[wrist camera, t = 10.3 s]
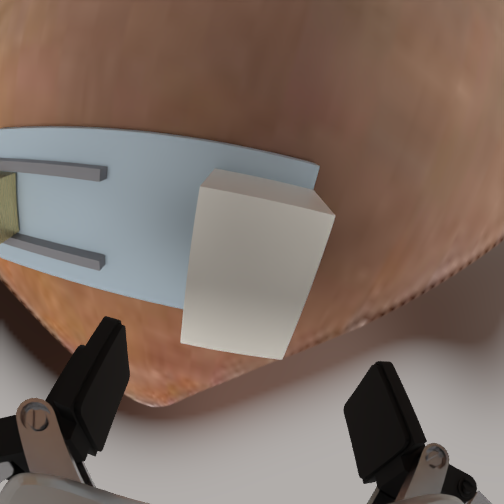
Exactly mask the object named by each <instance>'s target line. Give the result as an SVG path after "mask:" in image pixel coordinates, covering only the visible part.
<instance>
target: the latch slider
mask: <svg viewBox="0 0 504 504" xmlns="http://www.w3.org/2000/svg"><path fill="white" fill-rule="evenodd" d="M17 232H19V225H18V215H17V201H16V173H13V172H2V171H0V244H1V243H3V242H4V241H6V240H7V239H9V238H10V237H12V236H13V235H14V234H16V233H17Z"/></svg>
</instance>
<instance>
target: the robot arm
mask: <svg viewBox="0 0 504 504" xmlns="http://www.w3.org/2000/svg"><path fill="white" fill-rule="evenodd" d="M129 377H130V371H129V362H128V353H127V342H126V329H125V326H124V325H121V321H120V320H117V319H114V318H110V317H107V316H105V317H104V318H103V320H102V321H101V323H100V324H99V326H98V327H97V329H96V330H95V332H94V333H93V335H92V336H91V338H90V339H89V341H88V343H87V344H86V346H85V345H80V346H78V348H77V349H76V350H75V352H74V354H73V355H72V357H71V358H70V360H69V361H68V363H67V365H66V367H65V368H64V370H63V371H62V373H61V375H60V376H59V378H58V380H57V381H56V383H55V385H54V386H53V388H52V390H51V392H50V394H49V395H48V397H47V399H46V400H45V401H44V400H42V399H38V398H31V399H28V400H25V401H24V402H22V403H21V404H20V406H19V407H18V409H17V413H16V415H13V416H9V417H5V418H0V482H2V481H3V480H5V479H7V480H9V481H8V482H7V483H6V485H5V486H4V488H3V490H2V491H1V493H0V504H149V503H145V502H141V501H137V500H133V499H130V498H126V497H123V496H120V495H116V494H114V493H110V492H108V491H105V490H101V489H98V488H96V487H95V485H94V483H93V481H92V479H91V477H90V475H89V473H88V470H87V468H86V466H85V464H84V462H83V461H85V459H86V457H87V454H91V455H93V456H96V454H97V451H102V450H103V447H104V445H105V442H106V439H107V436H108V433H109V431H110V428H111V425H112V422H113V420H114V417H115V414H116V412H117V409H118V406H119V404H120V401H121V399H122V396H123V394H124V391H125V389H126V386H127V384H128V381H129ZM344 415H345V419H346V423H347V427H348V431H349V435H350V438H351V442H352V447H353V451H354V455H355V460H356V464H357V468H358V473H359V476H360V478H362V479H363V483H364V484H366V483H372V482H375V481H376V483H377V487H376V489H375V491H374V492H373V494H372V496H371V498H370V500H369V501H368V503H367V504H491V502H490V501H488V500H487V498H486V497H484V495H483V494H481V492H480V491H478V492H476V490H477V487H476V482H475V480H474V479H473V477H471V476H470V475H468V474H466V473H464V472H463V471H461V470H459V469H457V468H455V467H453V466H452V465H450V464H449V455H448V453H447V451H446V449H445V448H444V447H442V446H441V445H439V444H437V443H431V444H428V445H427V446H426V447H425V444H424V443H425V442H427V441H426V438H425V436H424V433H423V431H422V428H421V426H420V424H419V421H418V419H417V416H416V414H415V412H414V409H413V407H412V405H411V403H410V400H409V398H408V396H407V394H406V391H405V389H404V387H403V385H402V383H401V381H400V378H399V376H398V375H397V372H396V370H395V368H394V366H393V364H392V363H391V362H382V361H378V362H376V363H375V364H374V365H372V366H371V367H370V369H369V370H368V372H367V373H366V375H365V376H364V378H363V379H362V381H361V382H360V384H359V385H358V387H357V388H356V390H355V391H354V393H353V394H352V396H351V397H350V398H349V399H348V401H347V402H346V404H345V406H344Z"/></svg>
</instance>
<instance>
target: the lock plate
mask: <svg viewBox="0 0 504 504" xmlns="http://www.w3.org/2000/svg"><path fill="white" fill-rule="evenodd" d="M319 167H320V166H319V165H317V164H315V163H313V162H309V161H306V160H302V159H298V158H294V157H290V156H286V155H282V154H277V153H273V152H269V151H264V150H260V149H255V148H250V147H245V146H240V145H235V144H230V143H225V142H219V141H213V140H207V139H201V138H195V137H188V136H181V135H174V134H166V133H158V132H149V131H139V130H129V129H116V128H101V127H77V126H30V127H8V128H0V171H2V172H13V173H16V201H17V215H18V225H19V232H17V233H16V234H14V235H13V236H12V237H10V238H9V239H7V240H6V241H4V242H3V243H1V244H0V257H1V258H3V259H6V260H9V261H11V262H14V263H17V264H20V265H23V266H26V267H29V268H32V269H35V270H38V271H41V272H44V273H47V274H50V275H53V276H57V277H60V278H63V279H66V280H70V281H73V282H77V283H80V284H83V285H87V286H91V287H94V288H98V289H101V290H105V291H109V292H113V293H116V294H120V295H124V296H128V297H132V298H136V299H140V300H145V301H149V302H153V303H157V304H162V305H166V306H171V307H175V308H180V309H184V299H185V289H186V280H187V272H188V264H189V256H190V248H191V241H192V234H193V227H194V220H195V213H196V207H197V201H198V194H199V188H200V185H201V184H202V183H203V182H204V181H205V179H206V178H207V177H208V176H209V175H210V173H211V172H212V171H213V170H214V169H215V168H216V169H222V170H227V171H232V172H237V173H242V174H247V175H252V176H256V177H261V178H266V179H270V180H275V181H279V182H283V183H288V184H292V185H296V186H300V187H304V188H308V189H312V190H313V189H314V186H315V182H316V178H317V175H318V171H319Z"/></svg>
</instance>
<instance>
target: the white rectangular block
mask: <svg viewBox="0 0 504 504" xmlns="http://www.w3.org/2000/svg"><path fill="white" fill-rule="evenodd" d="M334 219H335V214H334V213H333V212H332V211H331V210H330V208H329V207H328V206H327V205H326V204H325V203H324V201H323V200H322V199H321V198H320V197H319V196H318V195H317V193H316V192H315V191H314V190H312V189H308V188H304V187H300V186H296V185H292V184H288V183H283V182H279V181H275V180H270V179H266V178H261V177H256V176H252V175H247V174H242V173H237V172H232V171H227V170H222V169H216V168H215V169H214V170H213V171H212V172H211V173H210V175H209V176H208V177H207V178H206V179H205V181H204V182H203V183H202V184H201V185H200V188H199V194H198V201H197V207H196V213H195V220H194V227H193V234H192V241H191V248H190V256H189V264H188V272H187V280H186V289H185V299H184V309H183V319H182V330H181V342H180V343H183V344H188V345H193V346H198V347H203V348H208V349H214V350H219V351H225V352H231V353H237V354H244V355H250V356H257V357H264V358H272V359H280V360H282V359H283V356H284V354H285V352H286V349H287V347H288V345H289V342H290V340H291V337H292V335H293V332H294V330H295V327H296V325H297V322H298V320H299V317H300V315H301V312H302V310H303V307H304V305H305V302H306V299H307V297H308V294H309V291H310V289H311V286H312V283H313V281H314V278H315V275H316V272H317V269H318V267H319V264H320V261H321V258H322V255H323V252H324V250H325V247H326V244H327V241H328V238H329V235H330V232H331V229H332V226H333V223H334Z"/></svg>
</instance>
